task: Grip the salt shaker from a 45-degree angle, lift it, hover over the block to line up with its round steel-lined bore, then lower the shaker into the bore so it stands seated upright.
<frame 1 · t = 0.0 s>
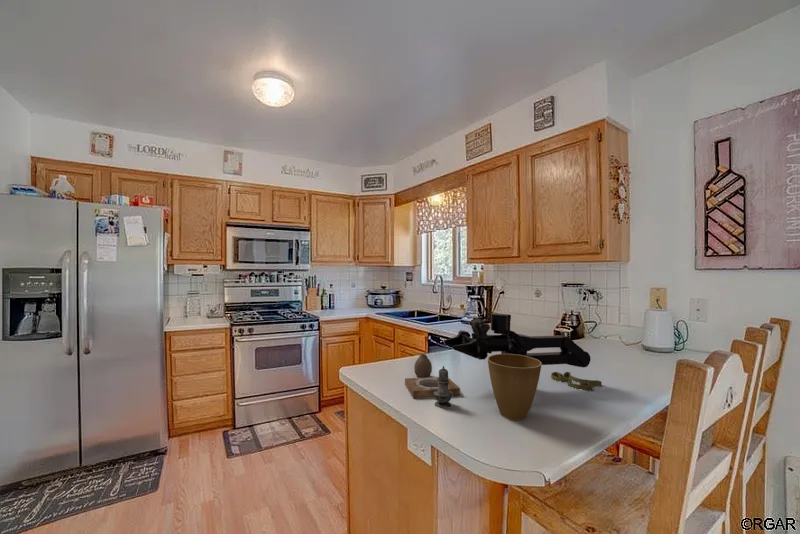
hand: (448, 344, 118), 17 cm above the countertop, tool horizontal, fingers open, 9 cm apart
salt shaker: (443, 405, 109), on the countertop
bore block: (431, 390, 121), on the countertop
vase: (422, 377, 136), on the countertop
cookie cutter: (574, 384, 132), on the countertop
plant pot: (513, 415, 101), on the countertop
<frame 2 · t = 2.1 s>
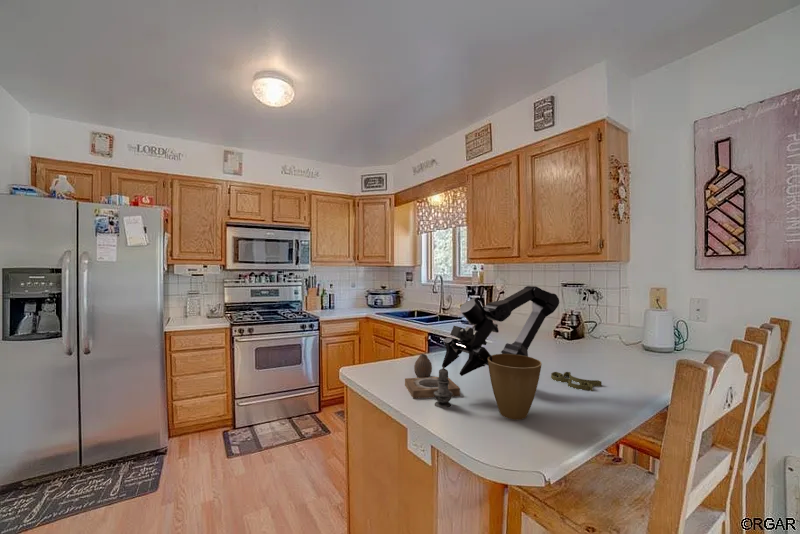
hand: (451, 370, 110), 10 cm above the countertop, tool tilted 45°, fingers open, 9 cm apart
nothing on the countertop moved.
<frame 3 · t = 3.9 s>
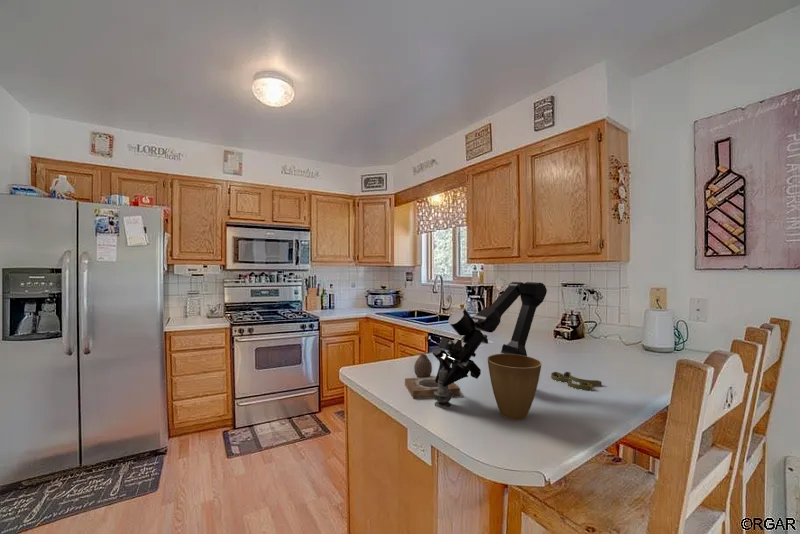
hand: (439, 384, 108), 7 cm above the countertop, tool tilted 45°, fingers closed on salt shaker, 4 cm apart
salt shaker: (443, 405, 109), on the countertop, touching gripper
everything else where it was.
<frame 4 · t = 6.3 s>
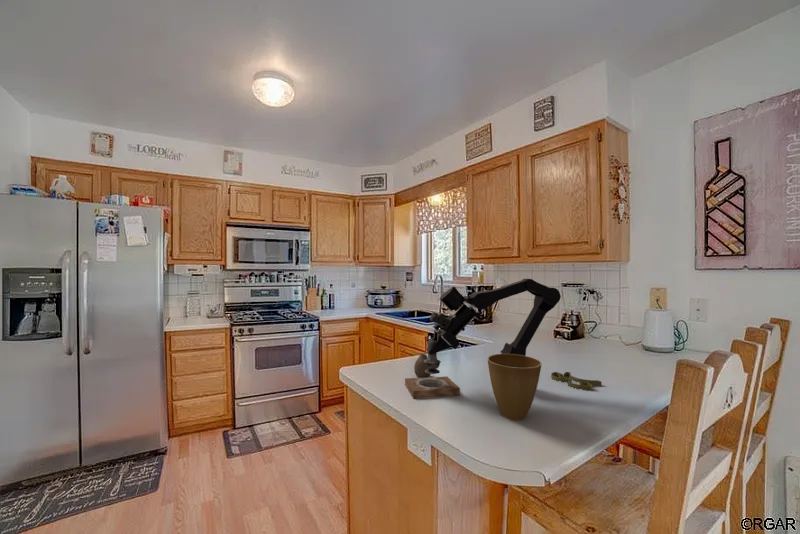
hand: (428, 352, 121), 13 cm above the countertop, tool tilted 45°, fingers closed on salt shaker, 4 cm apart
salt shaker: (432, 372, 121), point 6 cm above the countertop, touching gripper
everything else where it was.
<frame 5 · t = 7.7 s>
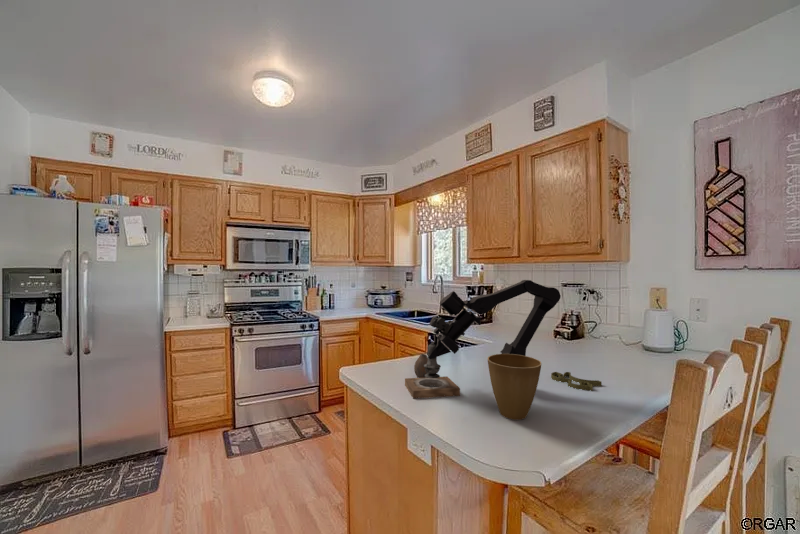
hand: (428, 356, 121), 12 cm above the countertop, tool tilted 45°, fingers closed on salt shaker, 4 cm apart
salt shaker: (432, 376, 121), point 5 cm above the countertop, touching gripper
everything else where it was.
when the fingers open (8 cm above the countertop, at t = 8.7 s): salt shaker drops 1 cm, resting in bore block.
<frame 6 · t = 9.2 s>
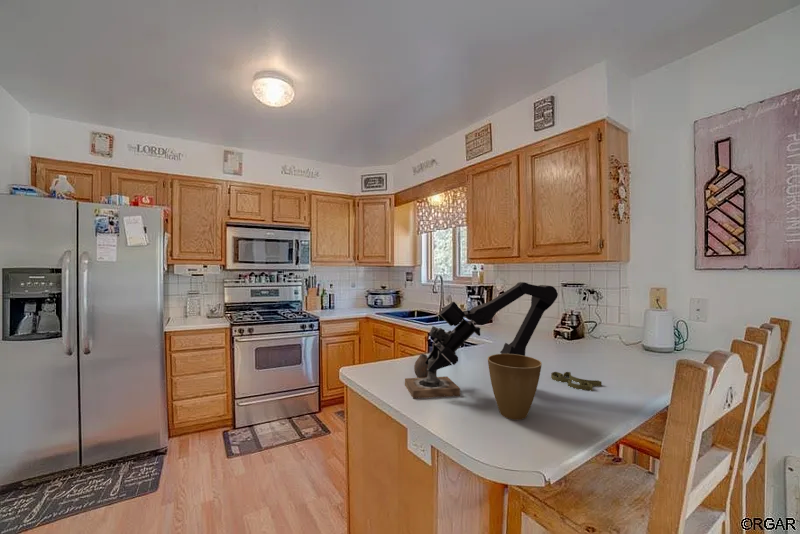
hand: (427, 367, 121), 8 cm above the countertop, tool tilted 45°, fingers open, 9 cm apart
salt shaker: (431, 391, 121), resting in bore block
everything else where it was.
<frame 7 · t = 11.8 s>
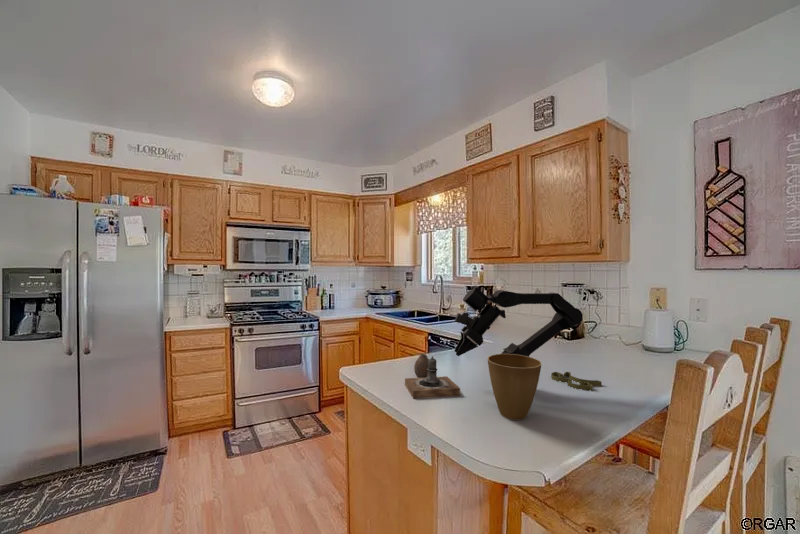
hand: (456, 353, 122), 13 cm above the countertop, tool tilted 40°, fingers open, 9 cm apart
nothing on the countertop moved.
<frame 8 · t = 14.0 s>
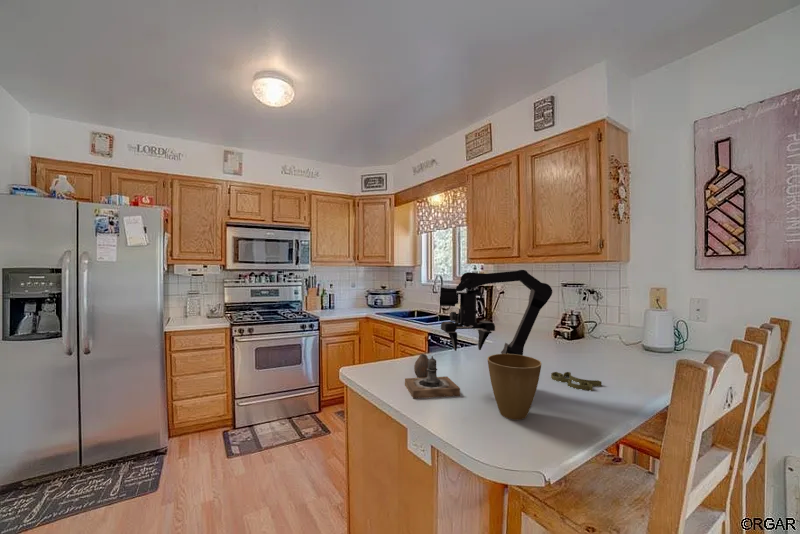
hand: (467, 350, 126), 13 cm above the countertop, tool pointing down, fingers open, 9 cm apart
nothing on the countertop moved.
at the end: salt shaker 0.2 cm from the bore block (horizontally); salt shaker resting in bore block; salt shaker tilted 0° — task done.
